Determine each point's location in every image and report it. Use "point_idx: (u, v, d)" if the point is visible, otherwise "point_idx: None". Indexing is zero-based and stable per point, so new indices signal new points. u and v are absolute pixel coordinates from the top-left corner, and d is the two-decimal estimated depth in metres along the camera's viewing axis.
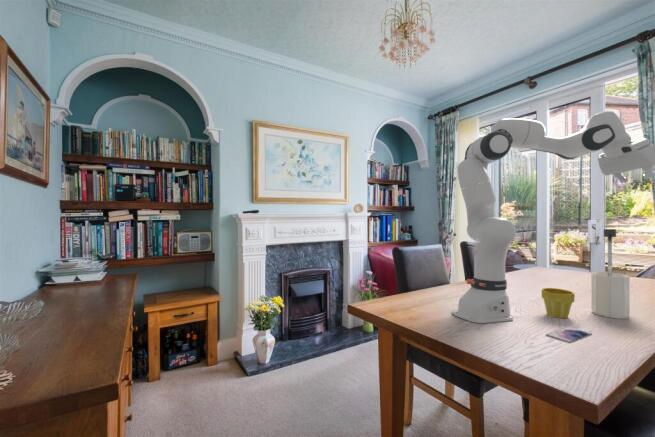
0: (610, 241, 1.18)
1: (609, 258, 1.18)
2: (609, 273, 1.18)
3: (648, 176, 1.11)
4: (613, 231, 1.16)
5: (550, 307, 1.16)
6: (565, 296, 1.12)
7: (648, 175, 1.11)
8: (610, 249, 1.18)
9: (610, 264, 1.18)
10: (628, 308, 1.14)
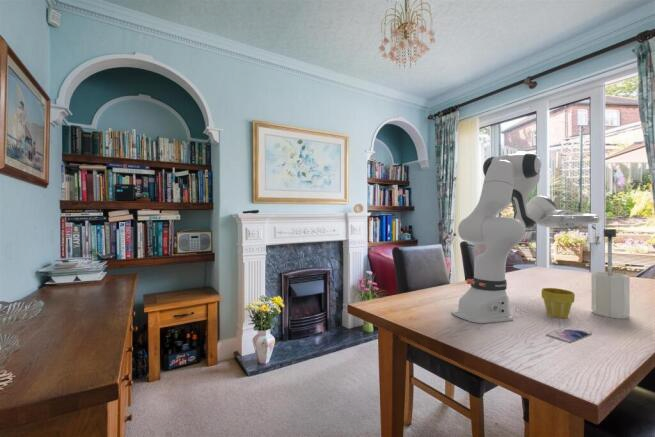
0: (610, 241, 1.18)
1: (609, 258, 1.18)
2: (609, 273, 1.18)
3: None
4: (613, 231, 1.16)
5: (550, 307, 1.16)
6: (565, 296, 1.12)
7: None
8: (610, 249, 1.18)
9: (610, 264, 1.18)
10: (628, 308, 1.14)
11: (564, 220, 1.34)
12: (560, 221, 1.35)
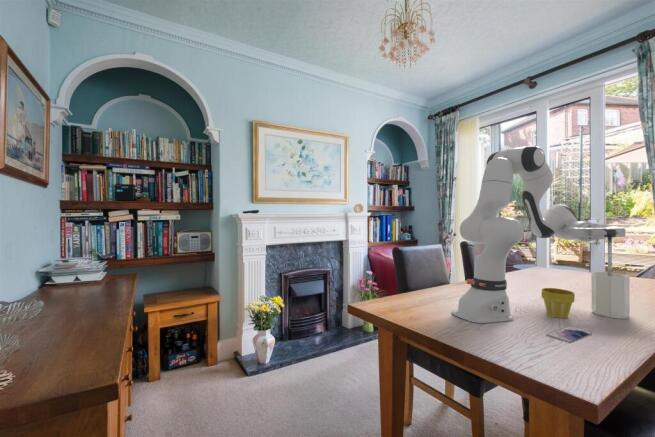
0: (610, 241, 1.18)
1: (609, 258, 1.18)
2: (609, 273, 1.18)
3: None
4: (613, 231, 1.16)
5: (550, 307, 1.16)
6: (565, 296, 1.12)
7: None
8: (610, 249, 1.18)
9: (610, 264, 1.18)
10: (628, 308, 1.14)
11: (593, 234, 1.21)
12: (583, 235, 1.22)
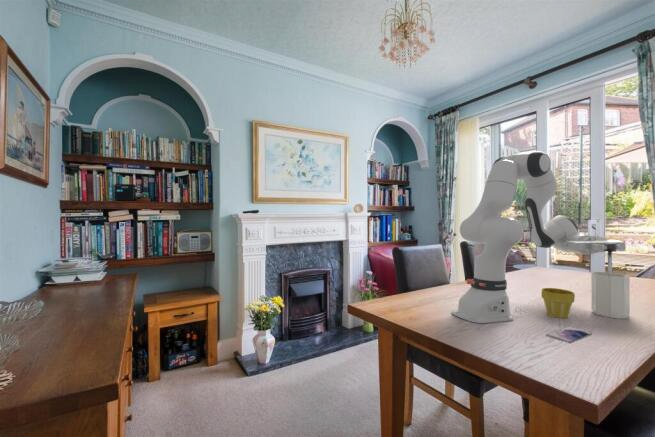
0: (610, 255, 1.18)
1: (609, 273, 1.18)
2: None
3: None
4: (613, 245, 1.16)
5: (550, 307, 1.16)
6: (565, 296, 1.12)
7: None
8: (610, 263, 1.18)
9: None
10: (628, 308, 1.14)
11: (593, 248, 1.21)
12: (583, 249, 1.22)
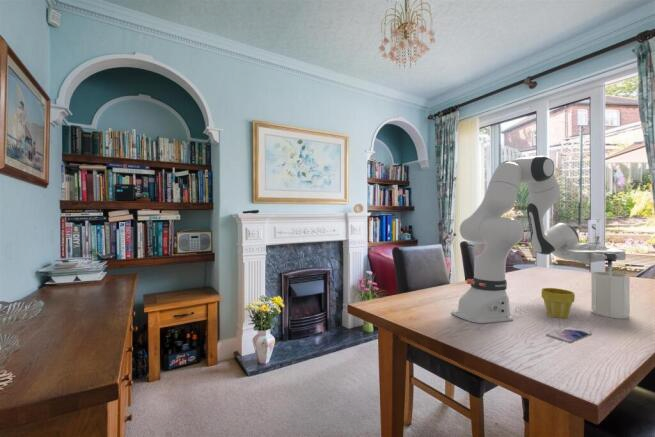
0: (610, 265, 1.18)
1: None
2: None
3: None
4: (613, 255, 1.16)
5: (550, 307, 1.16)
6: (565, 296, 1.12)
7: None
8: (610, 273, 1.18)
9: None
10: (628, 308, 1.14)
11: (593, 257, 1.21)
12: (583, 258, 1.22)
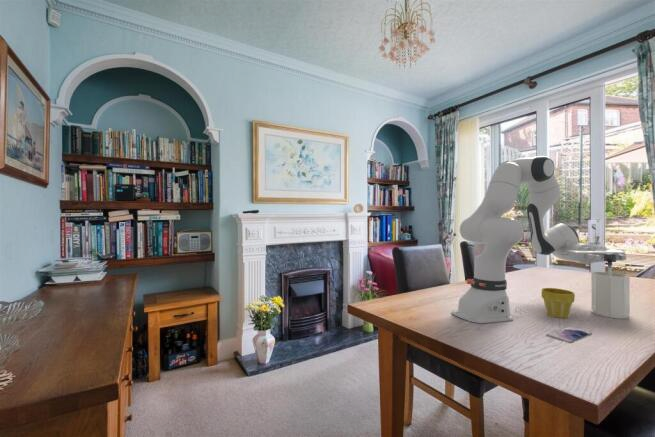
0: (610, 266, 1.18)
1: None
2: None
3: None
4: (613, 256, 1.16)
5: (550, 307, 1.16)
6: (565, 296, 1.12)
7: None
8: (610, 274, 1.18)
9: None
10: (628, 308, 1.14)
11: (588, 258, 1.21)
12: (583, 258, 1.22)
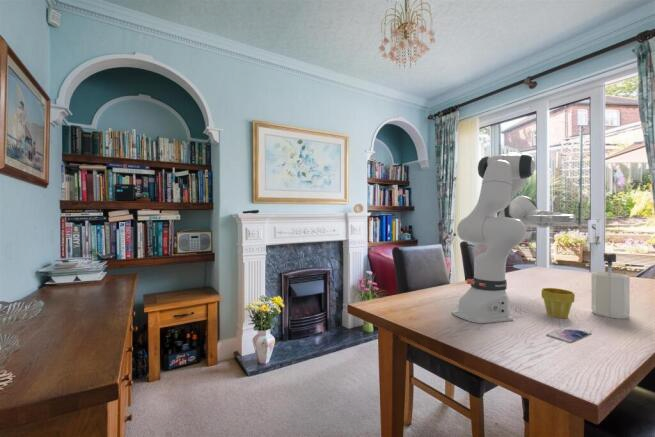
0: (610, 266, 1.18)
1: None
2: None
3: None
4: (613, 256, 1.16)
5: (550, 307, 1.16)
6: (565, 296, 1.12)
7: None
8: (610, 274, 1.18)
9: None
10: (628, 308, 1.14)
11: (542, 220, 1.39)
12: (539, 221, 1.41)
